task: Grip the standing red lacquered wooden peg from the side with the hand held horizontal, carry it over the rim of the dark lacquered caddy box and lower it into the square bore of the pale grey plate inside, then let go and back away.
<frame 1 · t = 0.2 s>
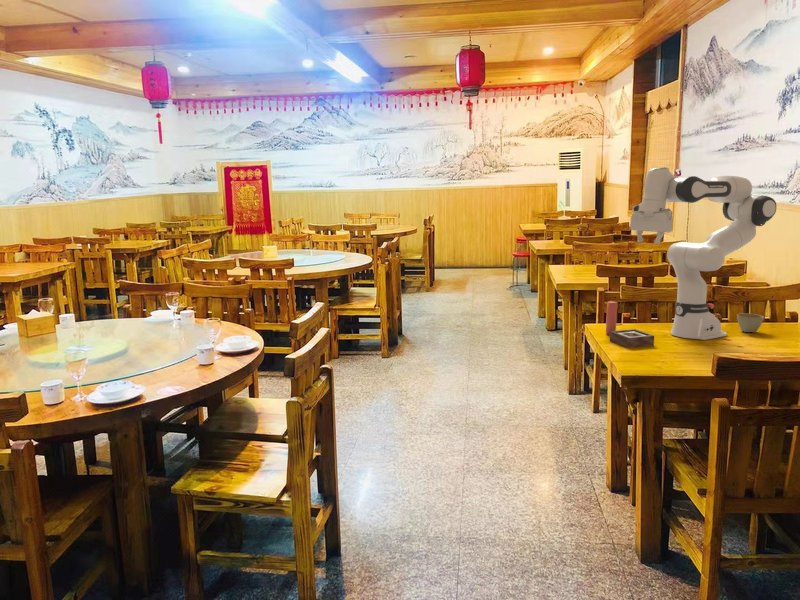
hand: (648, 242, 253), 40 cm above the table, tool pointing down, fingers open, 8 cm apart
flower pot: (748, 332, 271), on the table
peg: (610, 334, 269), on the table
caddy box: (631, 343, 255), on the table
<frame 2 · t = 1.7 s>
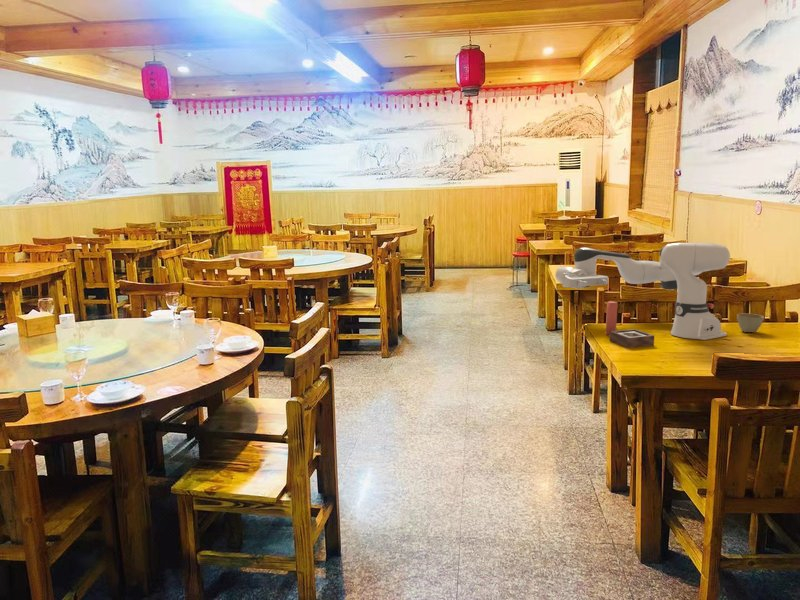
hand: (596, 283, 277), 20 cm above the table, tool horizontal, fingers open, 8 cm apart
nothing on the table moved.
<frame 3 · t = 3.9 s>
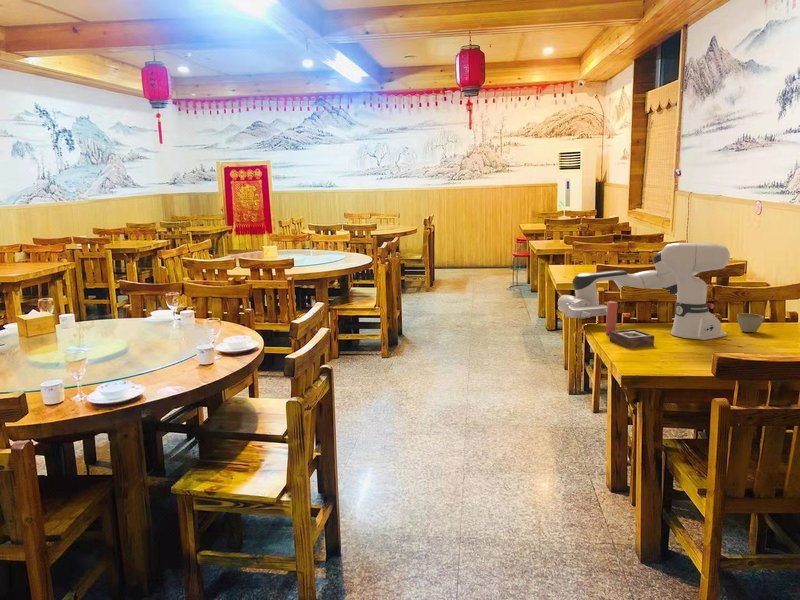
hand: (599, 314, 275), 7 cm above the table, tool horizontal, fingers open, 8 cm apart
nothing on the table moved.
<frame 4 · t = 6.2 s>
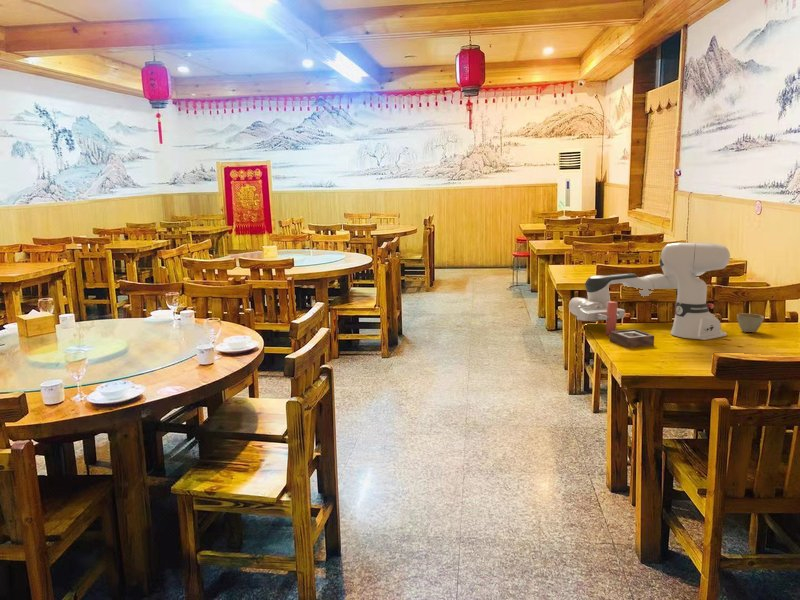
hand: (612, 317, 267), 8 cm above the table, tool horizontal, fingers closed on peg, 4 cm apart
peg: (610, 334, 269), on the table, touching gripper
everything else where it was.
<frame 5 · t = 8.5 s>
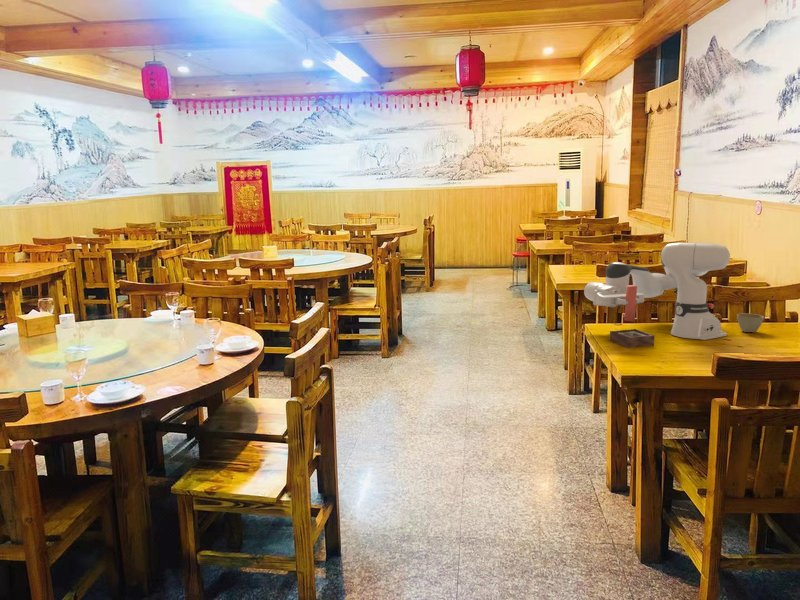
hand: (632, 302, 252), 17 cm above the table, tool horizontal, fingers closed on peg, 4 cm apart
peg: (629, 320, 255), point 9 cm above the table, touching gripper
everything else where it was.
when the fingers open (9 cm above the table, at t = 11.0 s): peg stays where it is, resting on caddy box.
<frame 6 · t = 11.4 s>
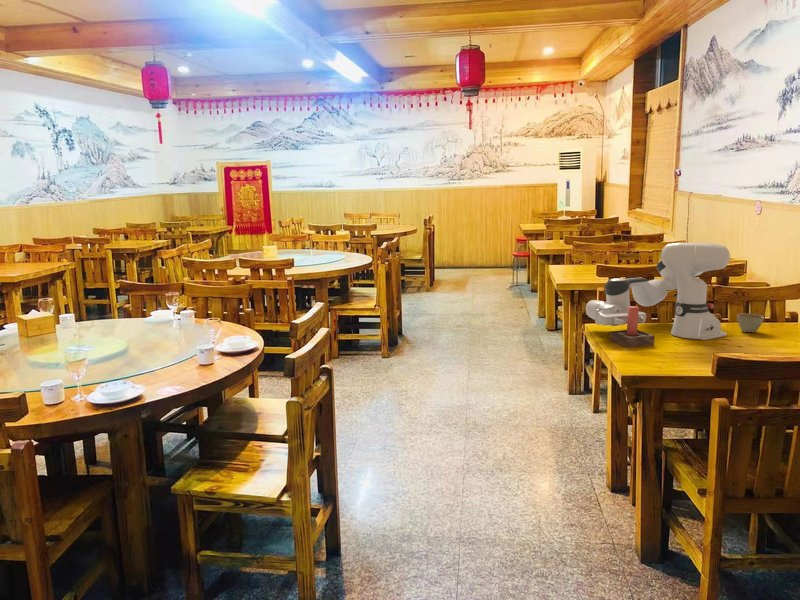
hand: (634, 321, 252), 9 cm above the table, tool horizontal, fingers open, 8 cm apart
peg: (631, 341, 255), point 1 cm above the table, touching caddy box
everything else where it was.
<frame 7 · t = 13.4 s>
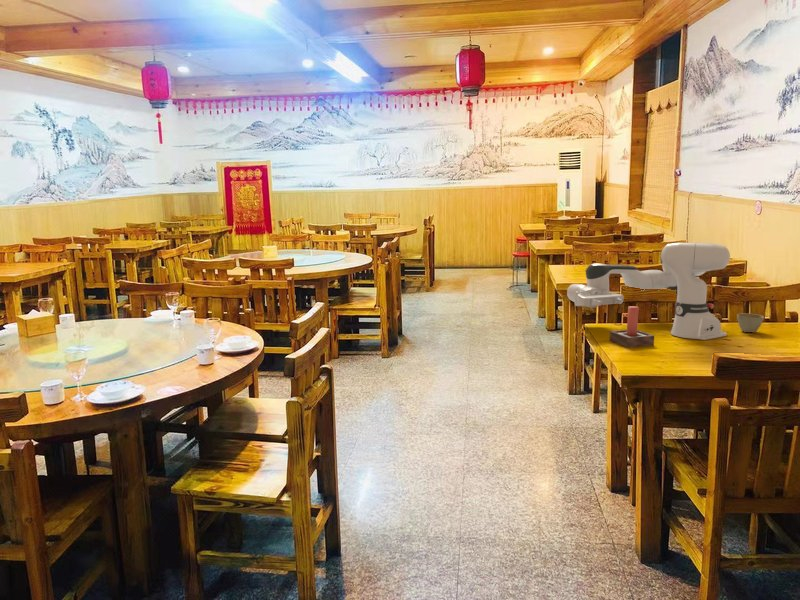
hand: (610, 302, 264), 14 cm above the table, tool horizontal, fingers open, 8 cm apart
nothing on the table moved.
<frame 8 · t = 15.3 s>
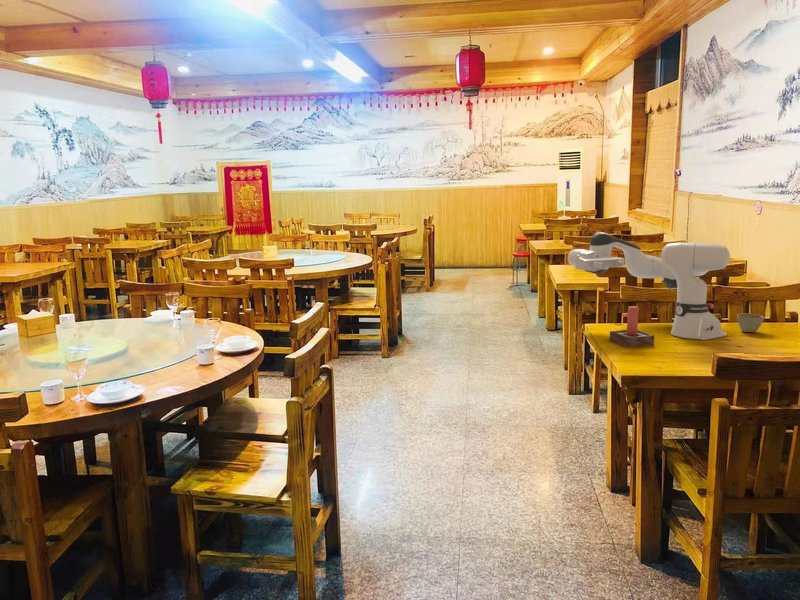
hand: (612, 264, 263), 30 cm above the table, tool horizontal, fingers open, 8 cm apart
nothing on the table moved.
at the end: peg 0.0 cm off-centre on the caddy box, point 0.8 cm above the caddy box's base; peg tilted 0°; the gripper is holding nothing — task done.
